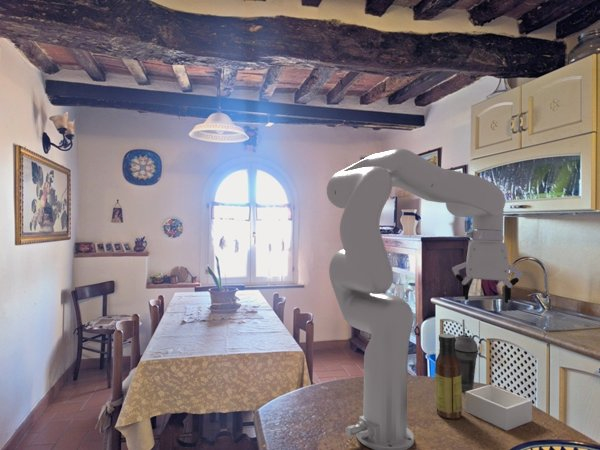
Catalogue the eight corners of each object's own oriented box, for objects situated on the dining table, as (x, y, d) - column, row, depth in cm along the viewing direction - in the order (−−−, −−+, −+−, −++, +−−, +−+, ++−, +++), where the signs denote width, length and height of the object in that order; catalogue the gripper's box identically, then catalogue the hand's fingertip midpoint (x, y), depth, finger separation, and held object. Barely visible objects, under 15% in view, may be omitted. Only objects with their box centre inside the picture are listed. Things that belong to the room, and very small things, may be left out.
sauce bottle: (457, 409, 103) (458, 332, 103) (465, 421, 97) (466, 339, 97) (431, 408, 104) (432, 331, 104) (437, 419, 97) (438, 337, 98)
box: (506, 430, 92) (506, 409, 92) (465, 411, 102) (465, 391, 102) (531, 420, 97) (532, 400, 98) (490, 403, 107) (490, 384, 107)
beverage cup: (457, 393, 113) (458, 323, 113) (447, 383, 120) (448, 317, 121) (482, 393, 113) (483, 323, 114) (470, 383, 121) (471, 317, 121)
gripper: (453, 235, 106) (451, 300, 106) (526, 238, 101) (524, 306, 100) (452, 236, 114) (450, 296, 113) (520, 238, 108) (519, 301, 107)
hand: (485, 300), depth 107 cm, fingers open, 9 cm apart
